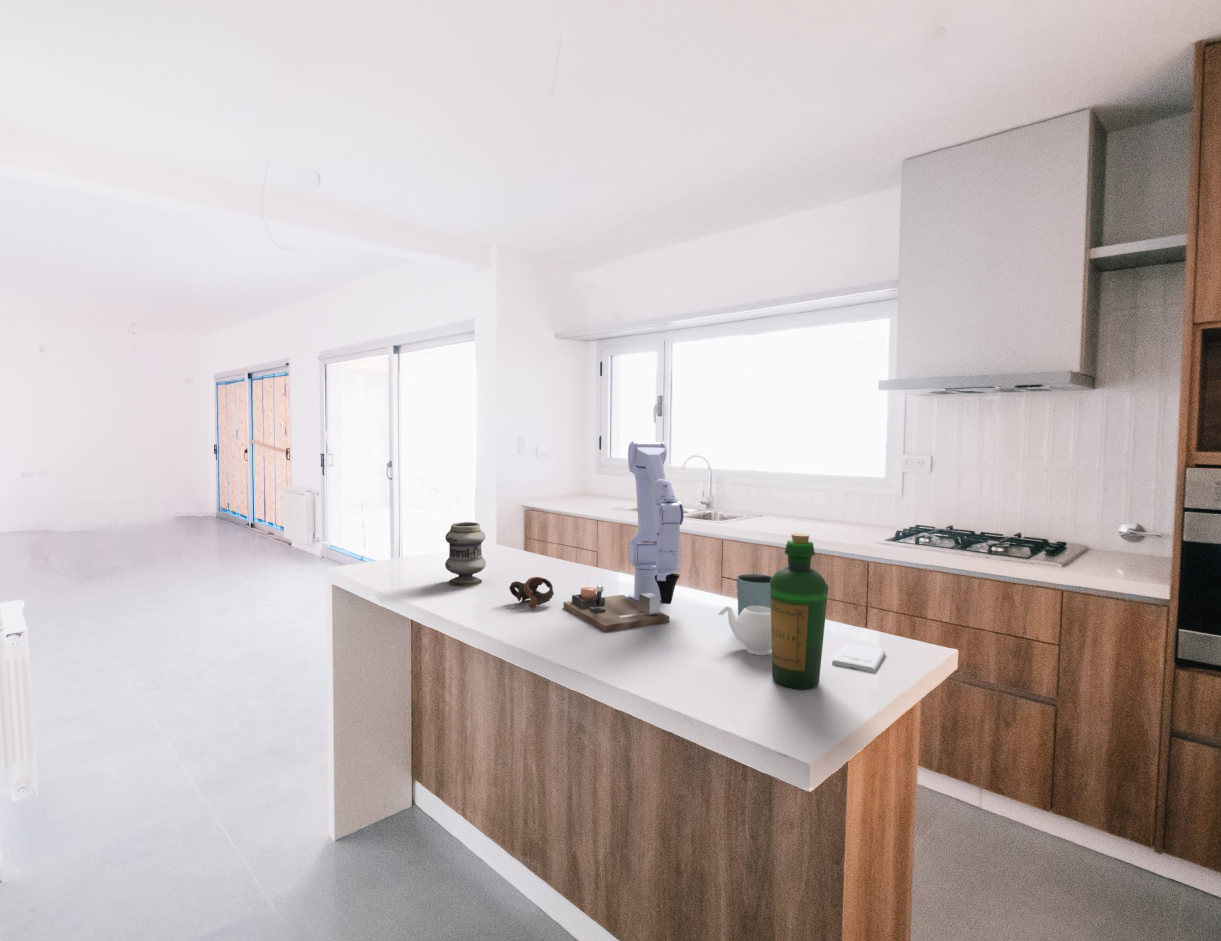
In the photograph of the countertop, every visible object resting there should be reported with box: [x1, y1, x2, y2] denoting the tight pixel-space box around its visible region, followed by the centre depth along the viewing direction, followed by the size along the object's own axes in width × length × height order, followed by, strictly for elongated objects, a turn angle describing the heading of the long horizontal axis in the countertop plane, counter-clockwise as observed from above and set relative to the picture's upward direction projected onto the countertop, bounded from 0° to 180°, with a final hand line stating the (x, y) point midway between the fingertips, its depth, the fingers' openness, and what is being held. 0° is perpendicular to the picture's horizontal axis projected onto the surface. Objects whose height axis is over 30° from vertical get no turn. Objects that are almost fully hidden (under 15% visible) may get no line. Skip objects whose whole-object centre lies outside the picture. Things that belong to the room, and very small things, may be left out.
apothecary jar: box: [444, 521, 487, 587], centre depth 198 cm, size 12×12×18 cm
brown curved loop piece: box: [508, 576, 555, 609], centre depth 175 cm, size 12×10×8 cm
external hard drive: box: [831, 643, 886, 674], centre depth 136 cm, size 2×8×12 cm
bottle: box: [770, 533, 829, 690], centre depth 123 cm, size 11×11×28 cm
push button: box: [580, 586, 597, 600], centre depth 170 cm, size 4×4×2 cm
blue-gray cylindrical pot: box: [736, 573, 773, 617], centre depth 157 cm, size 10×10×12 cm
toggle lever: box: [593, 585, 604, 607], centre depth 163 cm, size 2×2×6 cm
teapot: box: [718, 605, 772, 656], centre depth 140 cm, size 10×20×9 cm, turn 49°
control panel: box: [563, 593, 670, 633], centre depth 166 cm, size 18×23×4 cm
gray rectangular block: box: [638, 592, 661, 615], centre depth 163 cm, size 3×5×4 cm, turn 29°
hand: (666, 603), depth 165 cm, fingers closed
